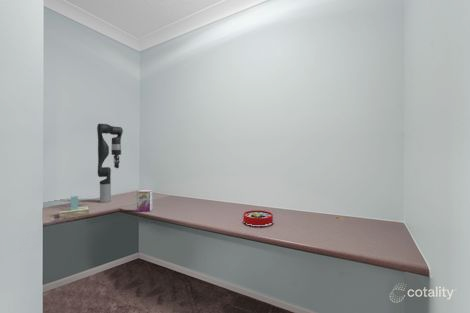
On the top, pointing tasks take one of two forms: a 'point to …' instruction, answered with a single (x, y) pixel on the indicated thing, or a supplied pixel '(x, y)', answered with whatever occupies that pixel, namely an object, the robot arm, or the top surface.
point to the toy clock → (257, 217)
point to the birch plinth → (74, 212)
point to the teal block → (74, 202)
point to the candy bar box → (144, 200)
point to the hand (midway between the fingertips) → (116, 167)
